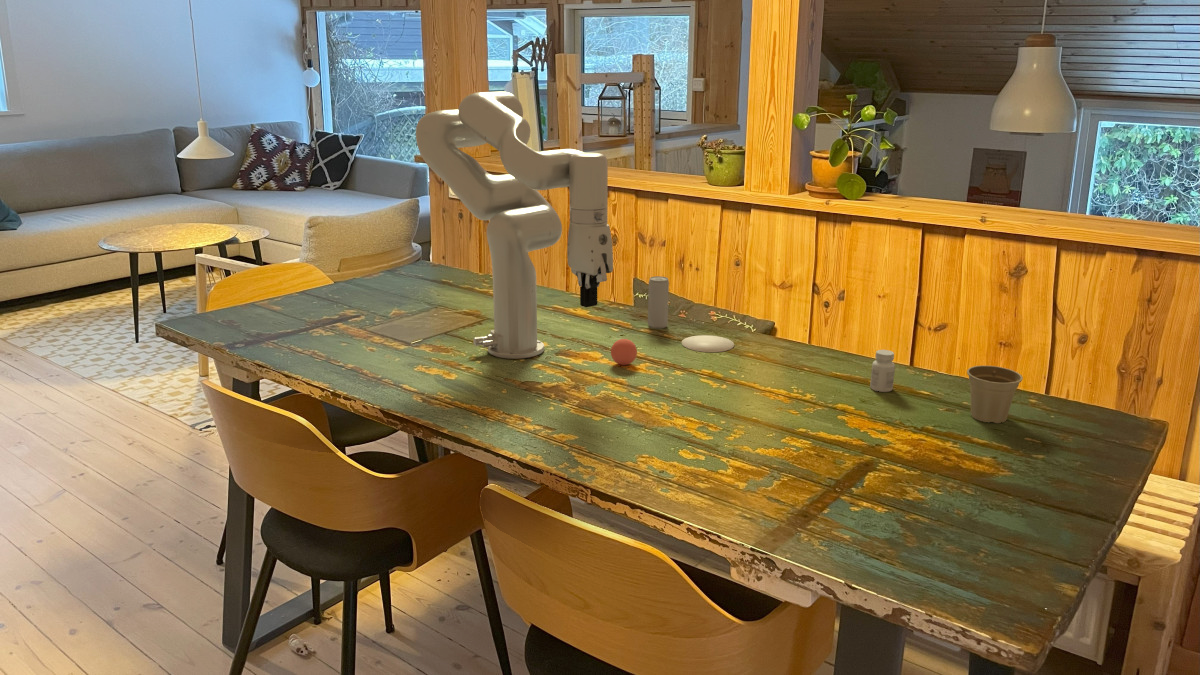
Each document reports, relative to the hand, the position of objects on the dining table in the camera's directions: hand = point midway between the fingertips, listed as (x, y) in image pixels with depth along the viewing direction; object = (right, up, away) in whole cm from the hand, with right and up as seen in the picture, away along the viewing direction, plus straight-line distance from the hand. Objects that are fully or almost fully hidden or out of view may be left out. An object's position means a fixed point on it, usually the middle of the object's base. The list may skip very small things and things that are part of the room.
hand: (588, 305), depth 189 cm
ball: (+7, -10, +9) cm, 15 cm away
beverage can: (+16, -4, +37) cm, 41 cm away
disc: (+27, -8, +24) cm, 37 cm away
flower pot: (+74, -22, -17) cm, 79 cm away
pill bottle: (+59, -17, -3) cm, 61 cm away
